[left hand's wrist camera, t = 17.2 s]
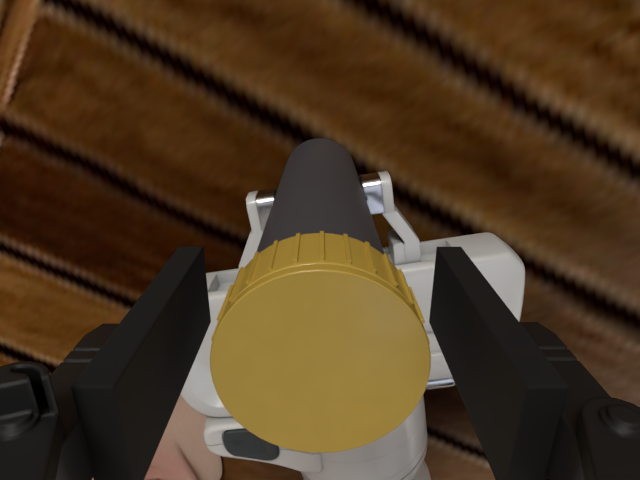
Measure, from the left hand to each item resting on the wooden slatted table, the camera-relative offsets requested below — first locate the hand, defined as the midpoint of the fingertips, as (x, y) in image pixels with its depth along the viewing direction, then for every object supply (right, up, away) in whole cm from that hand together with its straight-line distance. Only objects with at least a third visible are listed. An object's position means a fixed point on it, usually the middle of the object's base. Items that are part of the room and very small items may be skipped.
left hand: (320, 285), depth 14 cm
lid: (0, -1, -4) cm, 4 cm away
